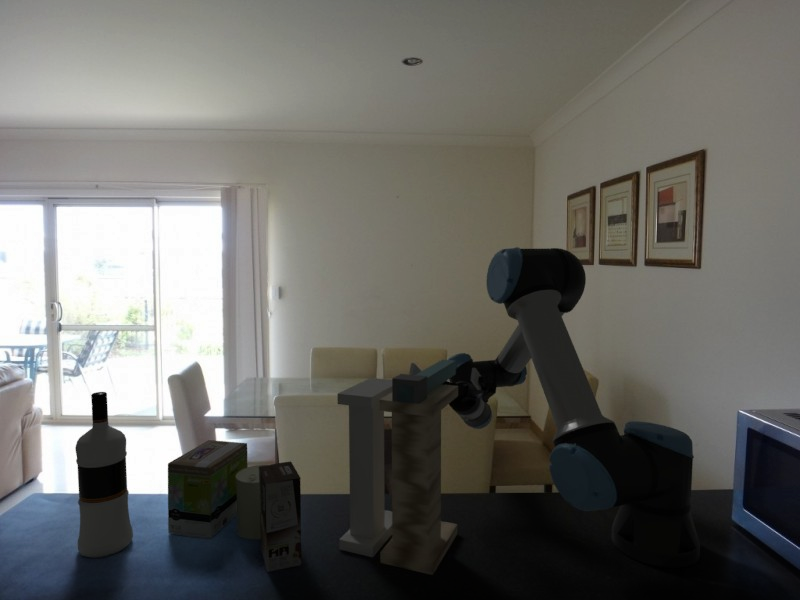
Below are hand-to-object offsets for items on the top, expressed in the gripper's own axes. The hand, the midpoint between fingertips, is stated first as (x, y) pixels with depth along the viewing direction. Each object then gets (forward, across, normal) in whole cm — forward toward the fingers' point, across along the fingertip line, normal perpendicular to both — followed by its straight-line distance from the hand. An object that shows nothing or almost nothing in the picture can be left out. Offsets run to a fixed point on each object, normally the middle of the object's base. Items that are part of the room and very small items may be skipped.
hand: (441, 371), depth 111 cm
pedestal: (-4, 0, -34) cm, 34 cm away
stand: (-4, +10, -34) cm, 35 cm away
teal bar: (+7, -1, -6) cm, 9 cm away
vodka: (+16, +55, -46) cm, 73 cm away
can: (+1, +32, -37) cm, 49 cm away
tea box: (+2, +44, -38) cm, 58 cm away
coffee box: (+7, +22, -40) cm, 47 cm away
